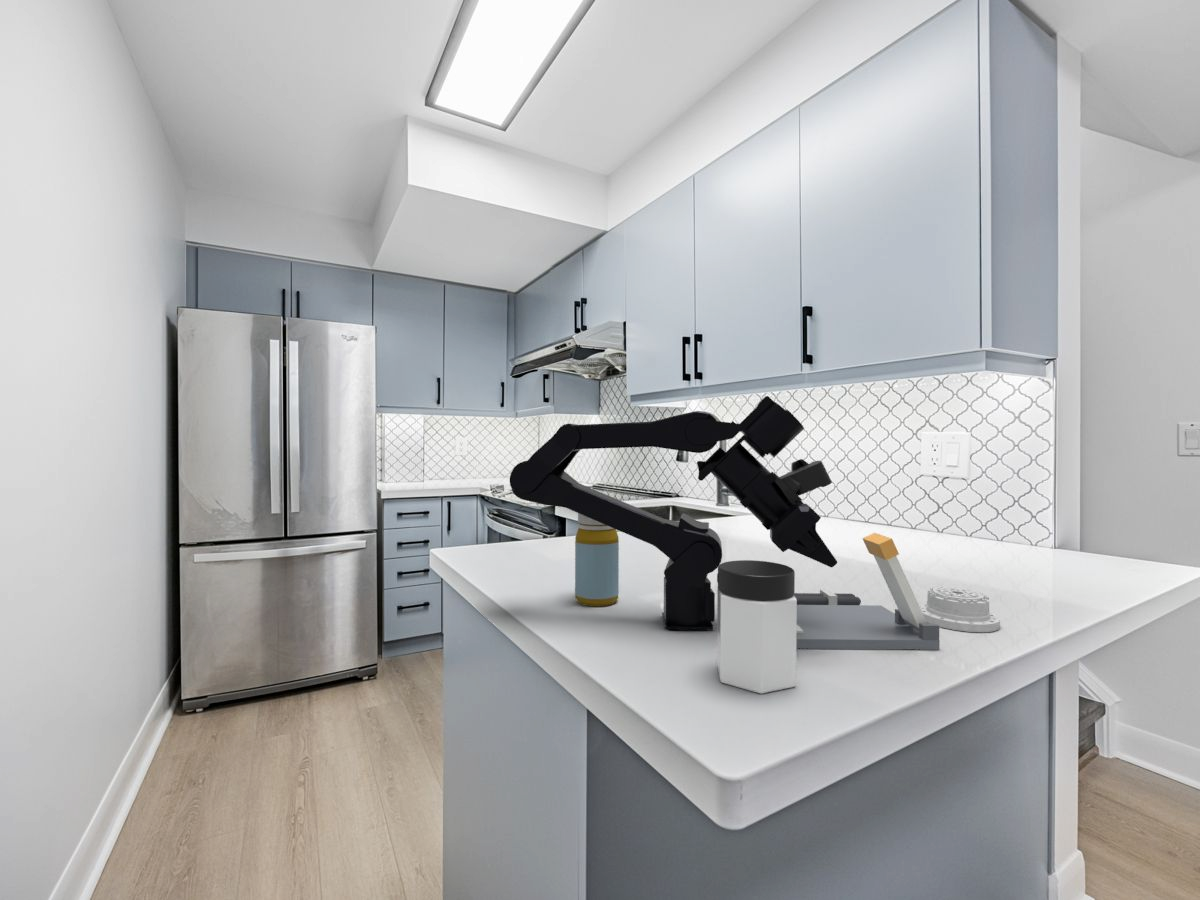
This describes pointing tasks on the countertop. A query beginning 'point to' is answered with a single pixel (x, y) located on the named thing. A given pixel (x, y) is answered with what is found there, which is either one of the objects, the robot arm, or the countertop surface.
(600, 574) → the bottle
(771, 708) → the countertop surface
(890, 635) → the plate
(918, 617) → the lever
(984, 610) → the mechanical component
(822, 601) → the dressed cords
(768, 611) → the jar
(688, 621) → the robot arm
